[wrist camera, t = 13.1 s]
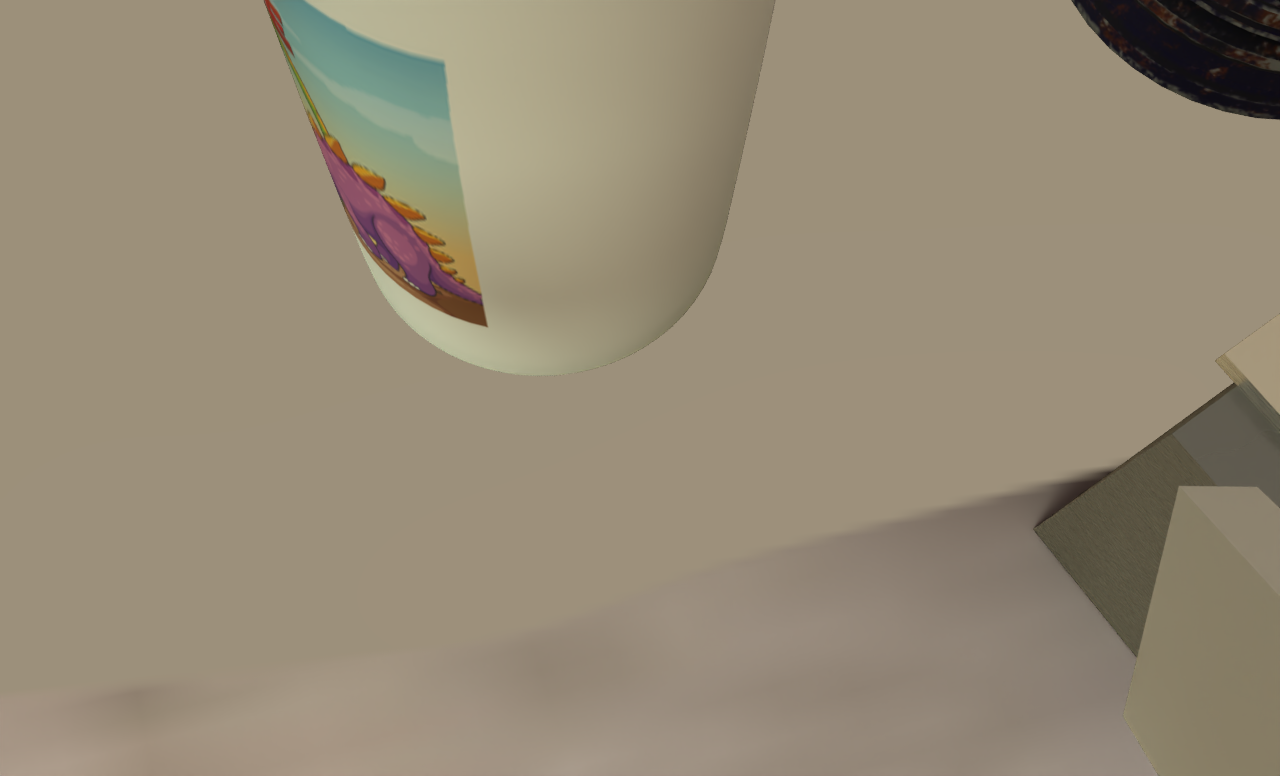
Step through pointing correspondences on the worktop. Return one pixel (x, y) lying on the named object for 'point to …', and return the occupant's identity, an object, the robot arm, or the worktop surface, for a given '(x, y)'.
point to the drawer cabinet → (1171, 486)
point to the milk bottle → (532, 160)
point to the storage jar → (1198, 48)
